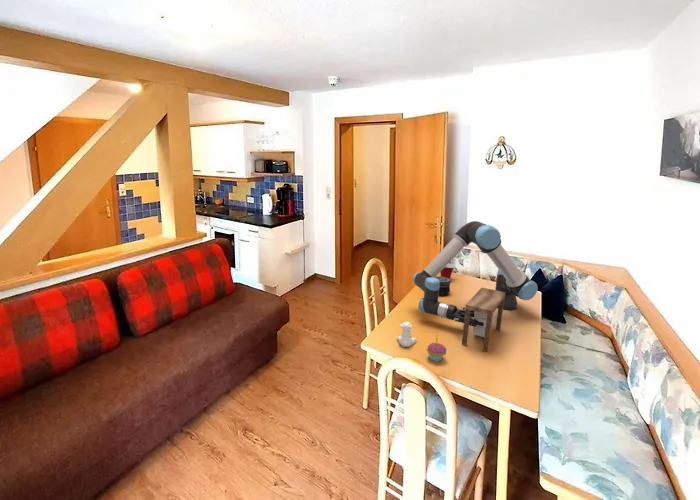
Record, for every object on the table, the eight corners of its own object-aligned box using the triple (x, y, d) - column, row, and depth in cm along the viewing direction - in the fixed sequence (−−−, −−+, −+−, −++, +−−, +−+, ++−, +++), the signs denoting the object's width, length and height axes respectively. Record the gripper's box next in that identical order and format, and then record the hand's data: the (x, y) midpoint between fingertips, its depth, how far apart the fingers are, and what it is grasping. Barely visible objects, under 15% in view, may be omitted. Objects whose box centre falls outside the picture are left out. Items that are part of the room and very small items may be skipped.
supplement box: (476, 328, 197) (478, 306, 193) (490, 332, 193) (493, 309, 189) (471, 334, 191) (474, 310, 187) (486, 338, 187) (489, 314, 183)
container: (437, 288, 257) (438, 274, 254) (453, 293, 248) (455, 279, 245) (425, 292, 249) (426, 278, 246) (442, 298, 240) (443, 283, 237)
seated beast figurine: (416, 341, 186) (418, 318, 183) (415, 350, 178) (417, 326, 175) (397, 338, 188) (398, 316, 185) (395, 347, 180) (396, 324, 177)
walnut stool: (461, 344, 184) (465, 304, 178) (477, 323, 206) (481, 287, 201) (486, 352, 178) (492, 311, 172) (500, 329, 200) (505, 292, 195)
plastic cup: (453, 283, 267) (455, 267, 264) (438, 282, 269) (439, 266, 266) (452, 278, 277) (454, 262, 274) (437, 277, 279) (439, 261, 276)
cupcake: (424, 354, 175) (426, 330, 172) (442, 353, 176) (444, 330, 173) (429, 364, 167) (431, 339, 164) (448, 363, 167) (451, 339, 164)
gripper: (453, 311, 208) (496, 322, 196) (440, 324, 192) (486, 337, 180) (454, 298, 206) (498, 308, 194) (441, 311, 190) (488, 323, 178)
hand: (493, 322), depth 187 cm, fingers closed on supplement box, 7 cm apart
